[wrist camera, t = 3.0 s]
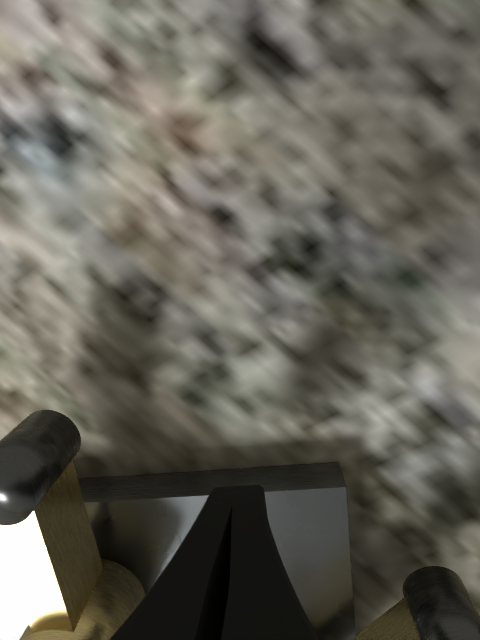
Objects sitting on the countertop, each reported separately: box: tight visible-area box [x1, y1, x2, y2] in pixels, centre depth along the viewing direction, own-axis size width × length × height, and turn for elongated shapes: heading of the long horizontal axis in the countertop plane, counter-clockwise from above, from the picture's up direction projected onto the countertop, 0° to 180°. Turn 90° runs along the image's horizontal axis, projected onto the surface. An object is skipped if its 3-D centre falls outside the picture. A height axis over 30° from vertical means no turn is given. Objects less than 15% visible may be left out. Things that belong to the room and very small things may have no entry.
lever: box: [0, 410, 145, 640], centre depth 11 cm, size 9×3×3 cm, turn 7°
